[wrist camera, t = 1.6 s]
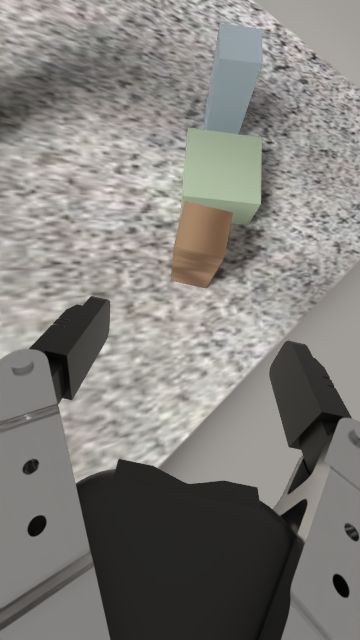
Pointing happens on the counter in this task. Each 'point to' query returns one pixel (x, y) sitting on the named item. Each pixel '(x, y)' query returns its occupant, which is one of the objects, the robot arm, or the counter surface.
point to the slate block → (233, 77)
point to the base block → (223, 172)
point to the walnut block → (200, 244)
